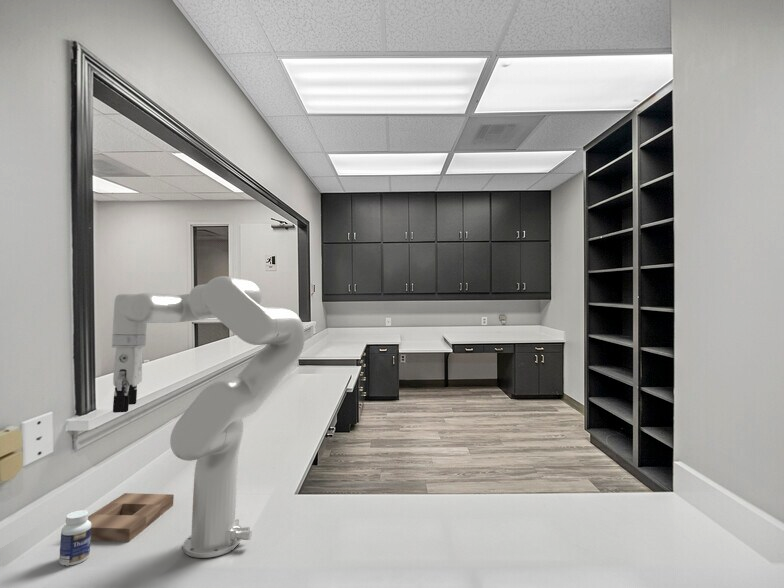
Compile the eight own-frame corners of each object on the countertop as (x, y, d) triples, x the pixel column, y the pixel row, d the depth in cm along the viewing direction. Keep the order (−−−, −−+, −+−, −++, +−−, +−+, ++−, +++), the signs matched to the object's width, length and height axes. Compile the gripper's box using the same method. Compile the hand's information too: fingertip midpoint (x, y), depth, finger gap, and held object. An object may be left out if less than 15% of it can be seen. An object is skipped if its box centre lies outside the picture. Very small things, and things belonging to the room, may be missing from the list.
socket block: (173, 505, 122) (173, 494, 122) (129, 541, 102) (129, 528, 102) (124, 503, 122) (124, 493, 122) (70, 539, 102) (71, 526, 102)
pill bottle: (73, 568, 91) (76, 521, 91) (52, 564, 92) (55, 518, 93) (95, 554, 96) (98, 510, 97) (75, 551, 97) (78, 507, 98)
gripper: (139, 343, 105) (134, 414, 104) (151, 339, 121) (147, 401, 120) (103, 343, 103) (98, 416, 102) (120, 339, 119) (116, 402, 118)
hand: (125, 408), depth 111 cm, fingers open, 9 cm apart
